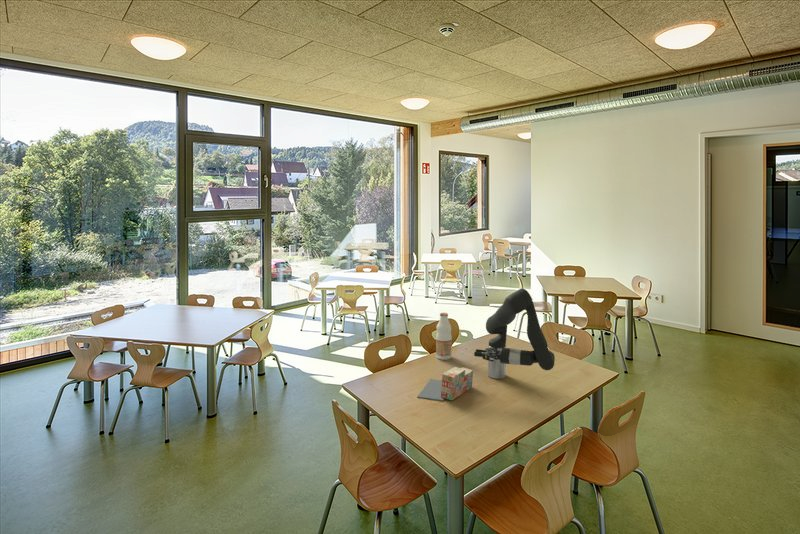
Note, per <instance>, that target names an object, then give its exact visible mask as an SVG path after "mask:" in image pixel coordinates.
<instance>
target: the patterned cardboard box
mask: <svg viewBox="0 0 800 534" xmlns="http://www.w3.org/2000/svg"><path fill="white" fill-rule="evenodd" d="M473 373H474V370H473V369H470V368H467V367H464V366H463V367H461V368H460V367H456V366H454V367H452V368H451V369H448V370H447V371H445V372H443V373H442V377H441V380H442V390H441V397H442V398H445V399H444V400H449V401H453V400H455V399H457V398H458V397H460V396H461V395H463V393H465V392H466V391H468V390H469V389H470V390H471V388H473V380H474V377H473Z"/></svg>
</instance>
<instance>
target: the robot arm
mask: <svg viewBox="0 0 800 534" xmlns="http://www.w3.org/2000/svg"><path fill="white" fill-rule="evenodd" d="M523 311H526V314H527V324H526V325H527V326H526V335H527V339H528V341H529V344H530V345H531V347H532V349H533V350H527V349H526V350H525V349H517V348H510V347H507V333H508V325H510V324H512V323H513V322H514V320H515V319H516V317H517V315H518V314H519V313H522V312H523ZM485 330H486V331H487V333H488V334H490V335H496V336H494V337H493V338H491V339H489V340H488V348H484V349H480V348H479V349H478V348H476V349H475V351H474V353H473V355H474V357H479V358H482V360H485V361H488V364H487V376H488V377H489V378H491V379H494V380H495V379H500V380H501V379H505V378H506V369H507V368H506V367H507V365H512V366H518V365H519V366H529V367H530V366H532V365H533V364H538V365H539V367H540V368H541V369H542V370H544V371H551V370H552V369H553V368H554V366H555V362H556V361H555V360H556V357H555V354H554V352H552V351H551V350H549V347H548V345H549V344H548V342H547V339H546V337H545V335H544V333H543V331H542V329H541V325H540V322H539V319H538V315H537V311H536V307H535V305H534V301H533V298H532V295H530V293H529V291H528V290H527V289H526V288H525V289H524V288H520V289H517V290H516V291H514V292H512V293H510V294H509V295H507V296H506V298H505V299H504V301H503V303H502V304H501V305H500V306H499V307H498V308H497V310H496V311H495V312H494V313H493V314H492V315H491V316H489V317H488V318H487V320H486V323H485Z"/></svg>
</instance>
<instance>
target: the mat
mask: <svg viewBox="0 0 800 534" xmlns="http://www.w3.org/2000/svg"><path fill="white" fill-rule="evenodd" d="M441 390H442V379H434V378H430V379H429V380H428V382H427V383H426V384H425V385H424V387H423V388H422V390H421V391H420V393H419V394H418V395H417V398H418V399H423V398H424V399H423V400H432V401H439V402H444V400H446V399H445V398H442V397H441Z"/></svg>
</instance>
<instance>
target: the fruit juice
mask: <svg viewBox="0 0 800 534" xmlns="http://www.w3.org/2000/svg"><path fill="white" fill-rule="evenodd" d="M448 317H449V313H448V312H440V313H439V321H438V323H437V324H436V337H435V345H436V346H435V357H436V358H437V359H438V360H443V361H446V360H451V359H452V337H453V336H452V333H451V331H452V324H451V323H450V321H449V318H448Z"/></svg>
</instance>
